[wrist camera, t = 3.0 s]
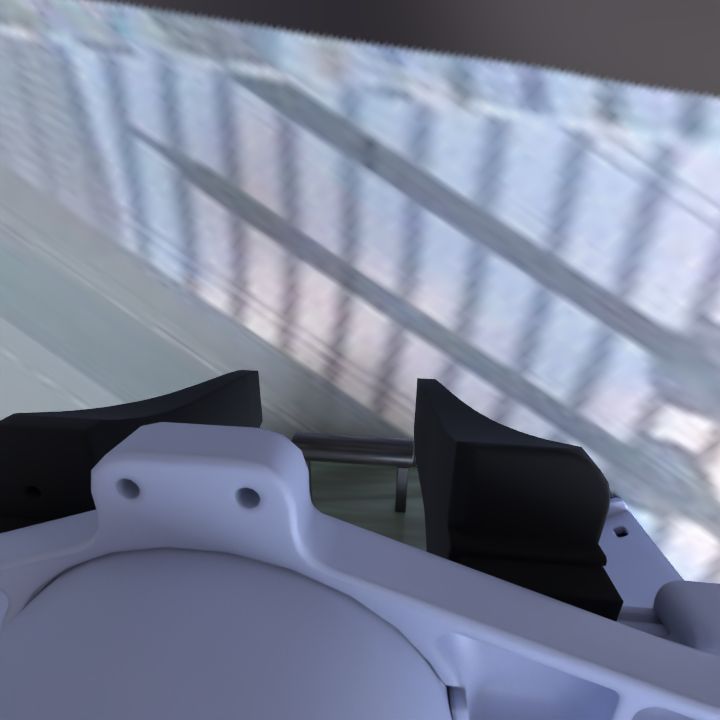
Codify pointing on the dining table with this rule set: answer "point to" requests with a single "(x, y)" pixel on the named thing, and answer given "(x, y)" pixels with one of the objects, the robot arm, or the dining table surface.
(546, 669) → the robot arm
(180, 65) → the dining table surface
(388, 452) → the green-fronted drawer
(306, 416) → the dining table surface
